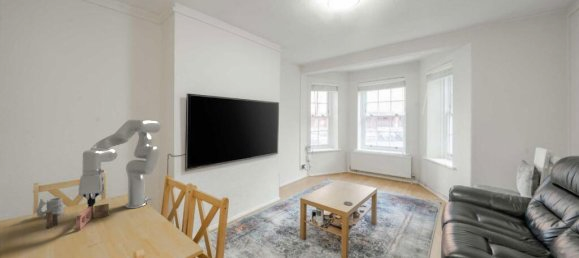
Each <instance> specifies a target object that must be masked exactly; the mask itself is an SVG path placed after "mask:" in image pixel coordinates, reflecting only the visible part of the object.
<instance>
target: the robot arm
mask: <svg viewBox="0 0 579 258" xmlns="http://www.w3.org/2000/svg"><path fill="white" fill-rule="evenodd" d="M161 129H162V127H161V123H160V122H159V121H157V120H145V119H128V120H126V121H125V122H124V123H123V124H122V125H121V126H120V127H119V128H118V129H117V130H116V131H115V133H113V134H111V135H108V136H106V137H104V138H102V139H100V140H98V142H96V143H94V145H93V146H92V147H91V148H90V149H89V150H85V151H83V152H82V174H81V175H80V179H79V183H78V197H83V198H85V199H86V200H87V201H86V204H87V207H89V206H93V207H94V206H95V204H96V198H97V197H98V196H101V195H104V194H105V192H104V191H105V180H104V174H103V173H104V172H105V171H104V169H102V168H101V167H102V163H106V162H107V163H108V162H112V161H114V160H116V159H117V157H118V152H117V150H115V149H113V147H115V146H119V145H123V144H126V143H127V142H128V143H129V140H131V139H132V137H133V136H134V135H135V134H136V133H137V134H138V140H137V143H136V146H135V149H134V152H133V155H134V157H135V158H136V159H133V160H130V161H128V163H127V164H126V165H125V170H126V174H127V190H128V191H127V203H126V204H125V205H124V207H125V208H127V209H137V208H142V207H144V206H146V205H147V204H148V201H153V197H151V196H147V197H145V195H146V193H145V183H146V182H145V179H146V178H145V175H147V176H148V175H152V174H153V173H154V171H155V170H156V167H157V163H158V160H159V158H160V149H159V148H158V146H156V145H152V143H153V137H152V134H156V133H159V132H160V130H161ZM145 202H146V203H147V204H146V203H145Z"/></svg>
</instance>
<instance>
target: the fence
mask: <svg viewBox="0 0 579 258" xmlns="http://www.w3.org/2000/svg"><path fill="white" fill-rule="evenodd" d="M109 205H110V204H109V203H104V204H98V205H93V206H89V207H91V219H90V220H89V221H91V220H94V219H98V218H102V217H107V216H109V215H110V214H109V213H110V212H109V211H110V210H109V207H110V206H109ZM45 219H46V220H45V225H46V229H48V230H49V229H51V228H53V227H54V226H58V223H59V222H58V221H59V220H58V219H59V217H58V216H57V213H56V214H53V213H52V212H47V213H46V214H45Z"/></svg>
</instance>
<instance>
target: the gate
mask: <svg viewBox="0 0 579 258" xmlns="http://www.w3.org/2000/svg"><path fill="white" fill-rule="evenodd" d="M75 218H76V221H75V222H76V231H79V230H81V229H83V227H85V226H86V224H87V223H88V222H90V221H91V220H92V219H91V207H88V206H87V207H86V208H85V209H84V210H83V211H82V212H80V213H79V214H78V215H77V216H76V217H75ZM90 219H91V220H90Z"/></svg>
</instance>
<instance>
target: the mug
mask: <svg viewBox="0 0 579 258" xmlns="http://www.w3.org/2000/svg"><path fill="white" fill-rule="evenodd" d="M45 205H46V210H44V211H43V210H42V208H43V207H44V206H45ZM63 205H64V202H63V198H62V197H53V198H49V199H47V201H44V200H43V199H42V198H41V199H40V201H39V203H38V206H37V208H36V211H35V212H36V215H37V216H38V217H39V218H43V217H44V216H46V213H47V212H52V213H53V214H56V213H57V217H60V216H62V215H63V214H64V212H65V210H64V207H63Z"/></svg>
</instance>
